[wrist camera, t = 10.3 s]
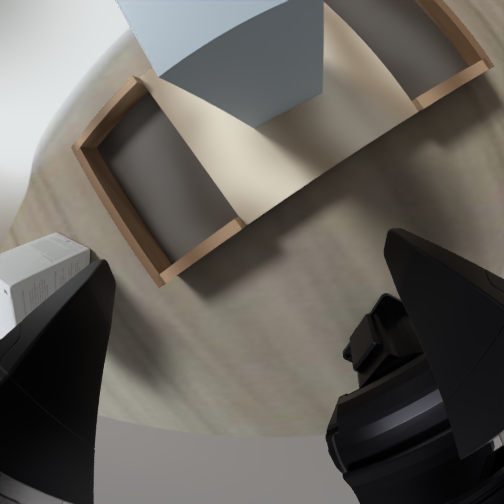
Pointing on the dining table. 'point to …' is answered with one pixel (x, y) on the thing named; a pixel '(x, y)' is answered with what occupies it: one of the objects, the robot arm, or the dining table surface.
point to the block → (235, 51)
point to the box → (265, 130)
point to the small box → (36, 275)
